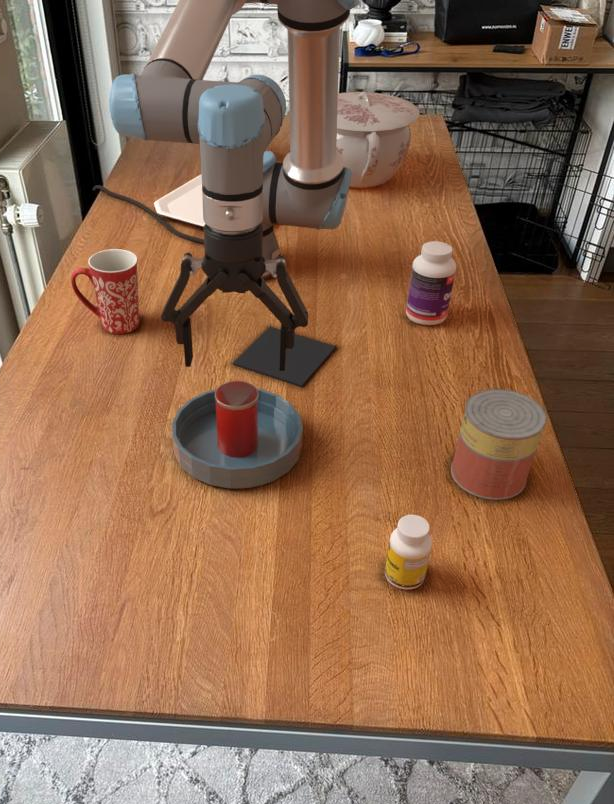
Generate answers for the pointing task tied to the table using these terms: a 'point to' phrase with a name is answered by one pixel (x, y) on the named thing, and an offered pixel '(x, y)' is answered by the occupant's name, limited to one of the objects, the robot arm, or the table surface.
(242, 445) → the tin can
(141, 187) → the table surface
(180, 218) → the plate
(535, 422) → the canned food
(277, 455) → the dish
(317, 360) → the mat
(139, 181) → the table surface
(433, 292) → the pill bottle
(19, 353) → the table surface
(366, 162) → the chamber pot
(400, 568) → the supplement bottle
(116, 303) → the mug
